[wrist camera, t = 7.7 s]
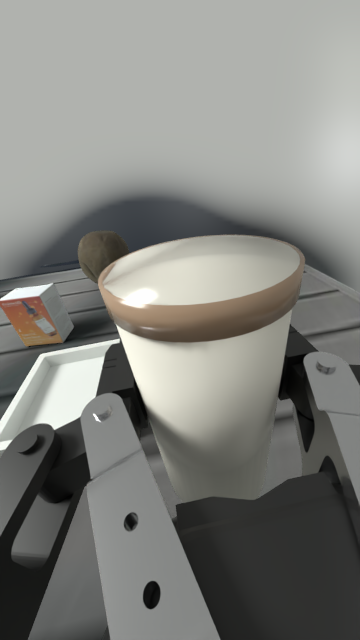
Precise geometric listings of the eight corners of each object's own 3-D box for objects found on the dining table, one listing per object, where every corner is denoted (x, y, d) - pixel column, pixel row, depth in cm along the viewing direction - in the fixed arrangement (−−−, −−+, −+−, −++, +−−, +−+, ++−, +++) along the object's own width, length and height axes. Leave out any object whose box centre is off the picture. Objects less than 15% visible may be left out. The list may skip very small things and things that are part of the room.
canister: (170, 534, 10) (72, 331, 4) (162, 422, 14) (111, 250, 8) (288, 507, 10) (368, 276, 4) (243, 405, 14) (250, 227, 9)
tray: (-4, 468, 25) (-20, 454, 23) (48, 367, 38) (40, 354, 36) (139, 437, 25) (133, 422, 24) (141, 349, 39) (136, 335, 37)
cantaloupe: (141, 283, 64) (127, 228, 56) (92, 298, 60) (69, 241, 52) (129, 270, 76) (117, 223, 67) (87, 282, 71) (68, 233, 63)
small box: (25, 347, 44) (-5, 301, 39) (40, 331, 49) (14, 287, 43) (64, 343, 44) (38, 295, 38) (75, 326, 48) (54, 282, 43)
